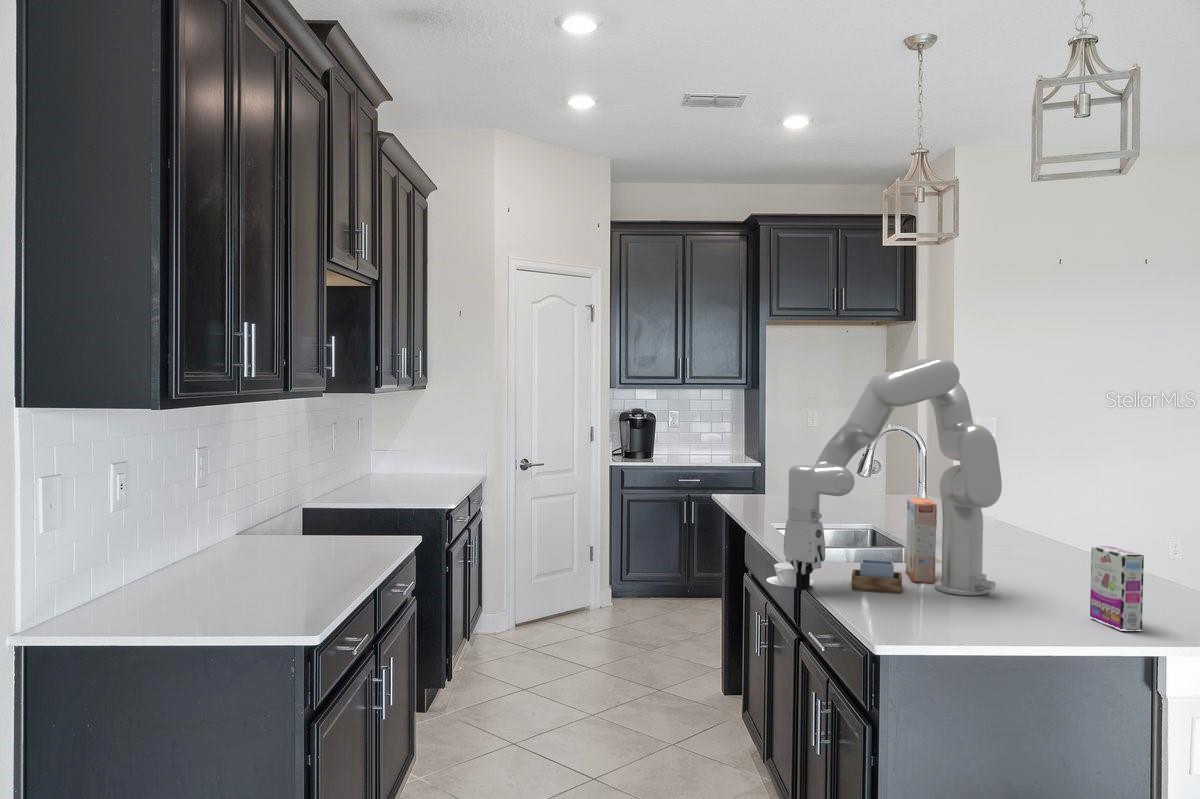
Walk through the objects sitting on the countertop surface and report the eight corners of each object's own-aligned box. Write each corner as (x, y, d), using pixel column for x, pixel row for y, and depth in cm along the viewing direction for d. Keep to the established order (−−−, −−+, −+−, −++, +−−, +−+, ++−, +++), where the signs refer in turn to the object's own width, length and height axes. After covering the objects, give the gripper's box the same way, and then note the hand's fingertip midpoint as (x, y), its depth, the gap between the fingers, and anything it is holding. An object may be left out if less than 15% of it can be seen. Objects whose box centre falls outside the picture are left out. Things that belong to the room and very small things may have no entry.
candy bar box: (1144, 632, 191) (1145, 555, 191) (1121, 632, 191) (1123, 555, 190) (1109, 618, 202) (1111, 545, 202) (1088, 618, 202) (1089, 545, 201)
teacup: (758, 587, 230) (758, 566, 230) (777, 579, 240) (778, 559, 240) (803, 594, 223) (803, 572, 223) (821, 585, 233) (821, 564, 233)
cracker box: (936, 584, 235) (937, 504, 235) (912, 582, 237) (913, 503, 236) (928, 572, 249) (929, 497, 249) (905, 571, 250) (906, 496, 250)
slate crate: (893, 584, 232) (893, 561, 232) (893, 589, 226) (893, 565, 226) (860, 582, 234) (861, 559, 234) (860, 586, 229) (860, 563, 229)
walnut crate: (901, 585, 233) (901, 572, 233) (901, 593, 224) (901, 579, 224) (852, 582, 236) (852, 569, 236) (851, 590, 228) (851, 576, 228)
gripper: (837, 518, 220) (836, 593, 220) (791, 510, 232) (790, 581, 232) (816, 520, 215) (815, 597, 216) (770, 512, 228) (770, 585, 228)
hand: (802, 589), depth 224 cm, fingers closed
